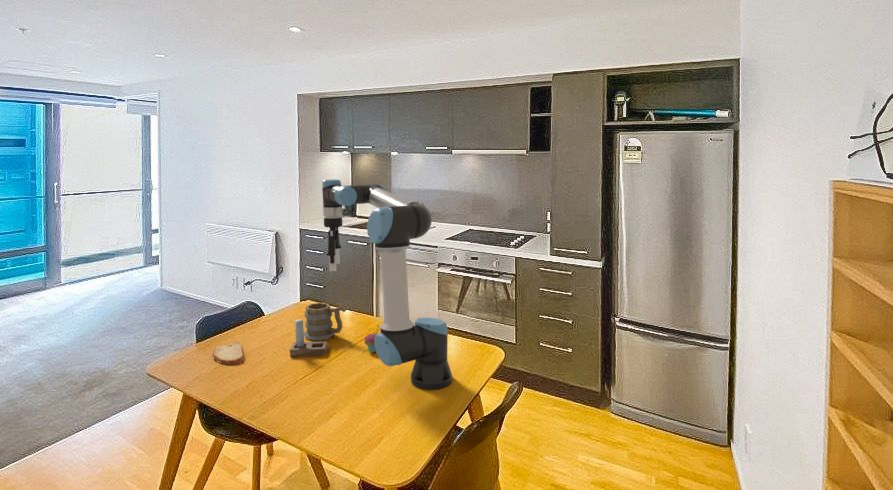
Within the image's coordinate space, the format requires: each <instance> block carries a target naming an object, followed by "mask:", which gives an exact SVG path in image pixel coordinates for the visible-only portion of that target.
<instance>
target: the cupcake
mask: <svg viewBox="0 0 893 490" xmlns="http://www.w3.org/2000/svg"><path fill="white" fill-rule="evenodd" d="M377 334H379V322H378V323H377V325H376V332H375V333H373V332H372V333H369V334H367V335H366V336H365V337H364V340H363V341H364V344H365V345H366V346H367V348H368V351H369V352H372V353H377V352H376V349H375V343H374V340H375V337H376V335H377Z"/></svg>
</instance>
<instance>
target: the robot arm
mask: <svg viewBox="0 0 893 490" xmlns="http://www.w3.org/2000/svg"><path fill="white" fill-rule="evenodd" d="M321 185H322V186H321V190H322V191H321V193H322V205H323V206H322V210H323V211H322V212H323V217H324V218H323V227H325V228H329V230H328V231H327V234H328V235H327V236H328V237H327V238H328V240H327V241H328V243H327V249H328V250H327V253H326V256H328V265H329V267H328V268H329V272H337V265H340V264H341V257H340V256H341V255H340V253H341V252H340V249H342V245H341V243H340V235H339V233H340V231H339V228H341V227H343V217H342V216H343V212H344V208H342V206H343V207H346V206H348V207H349V206H352V205H359V204H361V205H362V204H370V205H372V206H374V207H376V208H375V209H373V210H372V212H371V213H370V215H369V216H368V219H367V225H366V228H367V229H366V232H367V236H368V239H369V241H370V242H371V243H373V244H374V246H375V247H374V248H375V249H376V250H377V251H378V252H379V255H380V268H381V269H380V270H381V287H382V303H383V305H382V306H383V314H384V315H383V320H384V321H383V323H382V324H381V325H380V329H379V330H380V332H378V334H377V335H376V337H375V340H374V343H375V349H376V352H375V353H376V354H377V356H378V358H379V359H380V362H382V363H383V364H384V365H385V366H386V367H387V366H388V367H393V366H394V367H395V366H400V365H403V364H406V363H409V362H413V361H414V365H413V366H412V367H413V368H412V371H411V373H410V383H411V384H412V386H414V387H416V388H418V389H421V390H429V391H430V390H431V391H432V390H441V389H444V388H447V387H448V386H450V385H451V384H452V382H453V373H452V370H451V367H450V364H449V360H448V335H449V332H448V324H447V323H446V321H444V320H442V319H439V318H435V317H418V318H417V319H415V321H414V322H413V321H412V320H411V319H410V303H409V289H408V288H409V285H408V284H409V283H408V268H407V267H408V266H407V255H406V254H407V253H406V252H407V250H408V249H409V247H411V242H410V240H414V239H415V240H416V239H418V238H421V237H423V236H425V235H426V234H427V233H428V231H429V230H430V229H431V226H432V221H433V219H432V214H431V212H430V210H429V209H428V208H427V207H426V206H425V205H423V204H421V203H419V202H416V201H408V200H407V199H404V198H402V197H401V196H400V197H399V196H397V195H395V193H394V194H393V193H392V192H389V191H387V189H386V187H385V185H384V184H377V183H373V184H356V185H355V184H354V185H342V181H341V180H340V179H335V178H334V179H323V180H322V184H321Z"/></svg>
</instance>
